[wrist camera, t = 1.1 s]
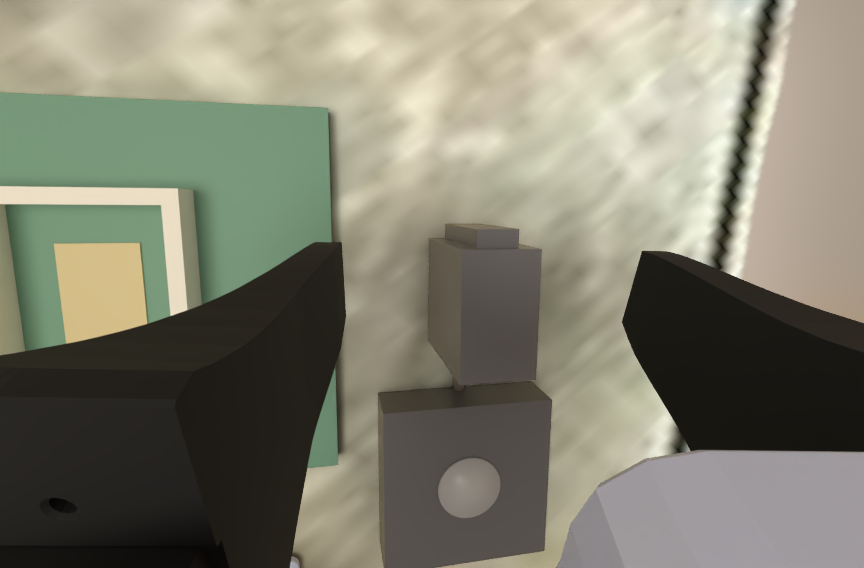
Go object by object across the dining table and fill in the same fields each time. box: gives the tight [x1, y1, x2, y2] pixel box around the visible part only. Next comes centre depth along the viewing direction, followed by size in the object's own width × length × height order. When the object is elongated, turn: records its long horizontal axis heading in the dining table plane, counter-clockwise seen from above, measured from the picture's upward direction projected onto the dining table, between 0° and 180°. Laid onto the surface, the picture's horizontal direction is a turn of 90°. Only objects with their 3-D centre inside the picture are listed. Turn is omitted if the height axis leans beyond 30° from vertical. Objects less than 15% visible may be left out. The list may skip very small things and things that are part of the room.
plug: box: [428, 224, 542, 385], centre depth 20 cm, size 6×3×6 cm, turn 0°
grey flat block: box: [378, 376, 552, 568], centre depth 23 cm, size 10×8×3 cm
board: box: [0, 93, 338, 468], centre depth 19 cm, size 16×16×3 cm
